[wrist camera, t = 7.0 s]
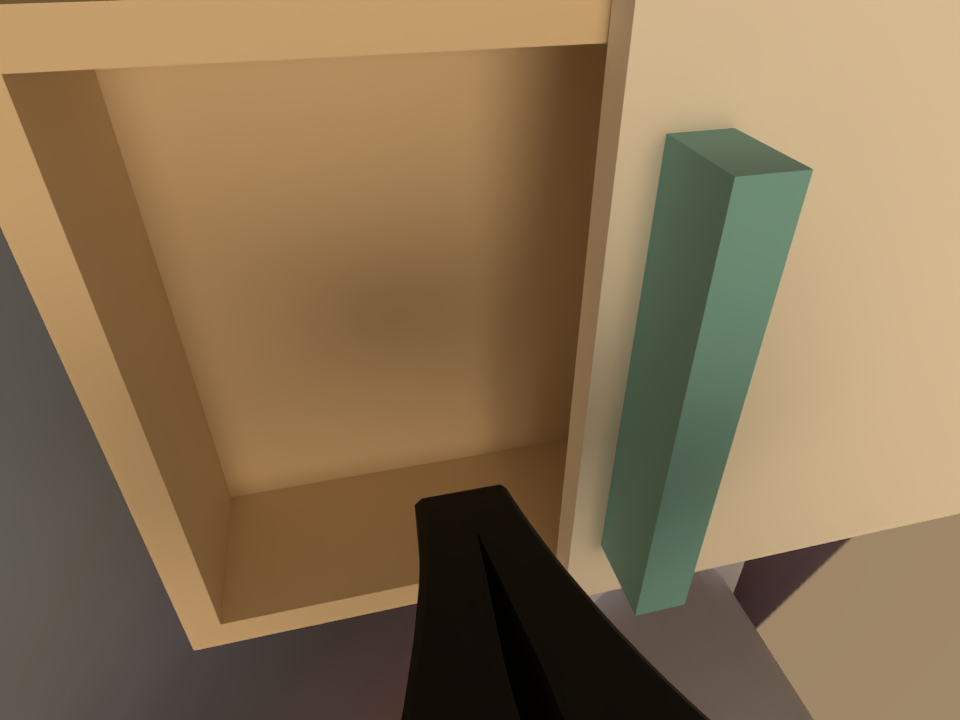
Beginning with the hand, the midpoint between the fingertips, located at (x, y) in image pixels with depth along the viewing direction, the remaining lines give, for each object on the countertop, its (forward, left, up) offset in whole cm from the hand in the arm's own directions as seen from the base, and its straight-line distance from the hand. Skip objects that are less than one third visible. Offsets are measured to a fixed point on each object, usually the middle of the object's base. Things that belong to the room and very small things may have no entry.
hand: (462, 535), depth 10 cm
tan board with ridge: (0, -14, -5) cm, 15 cm away
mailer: (0, -4, -9) cm, 10 cm away
